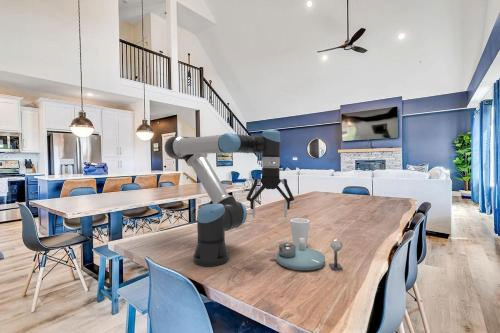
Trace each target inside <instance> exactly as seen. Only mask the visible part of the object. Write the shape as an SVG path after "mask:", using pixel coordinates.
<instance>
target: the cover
mask: <svg viewBox="0 0 500 333" xmlns="http://www.w3.org/2000/svg"><path fill="white" fill-rule="evenodd" d="M278 251H279V256H280V257H282V258H288V259H289V258H294V257H295V256H296V246H295V245H294V244H293V243H292V242H287V241H286V242H283V243H280V244H279V245H278Z"/></svg>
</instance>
